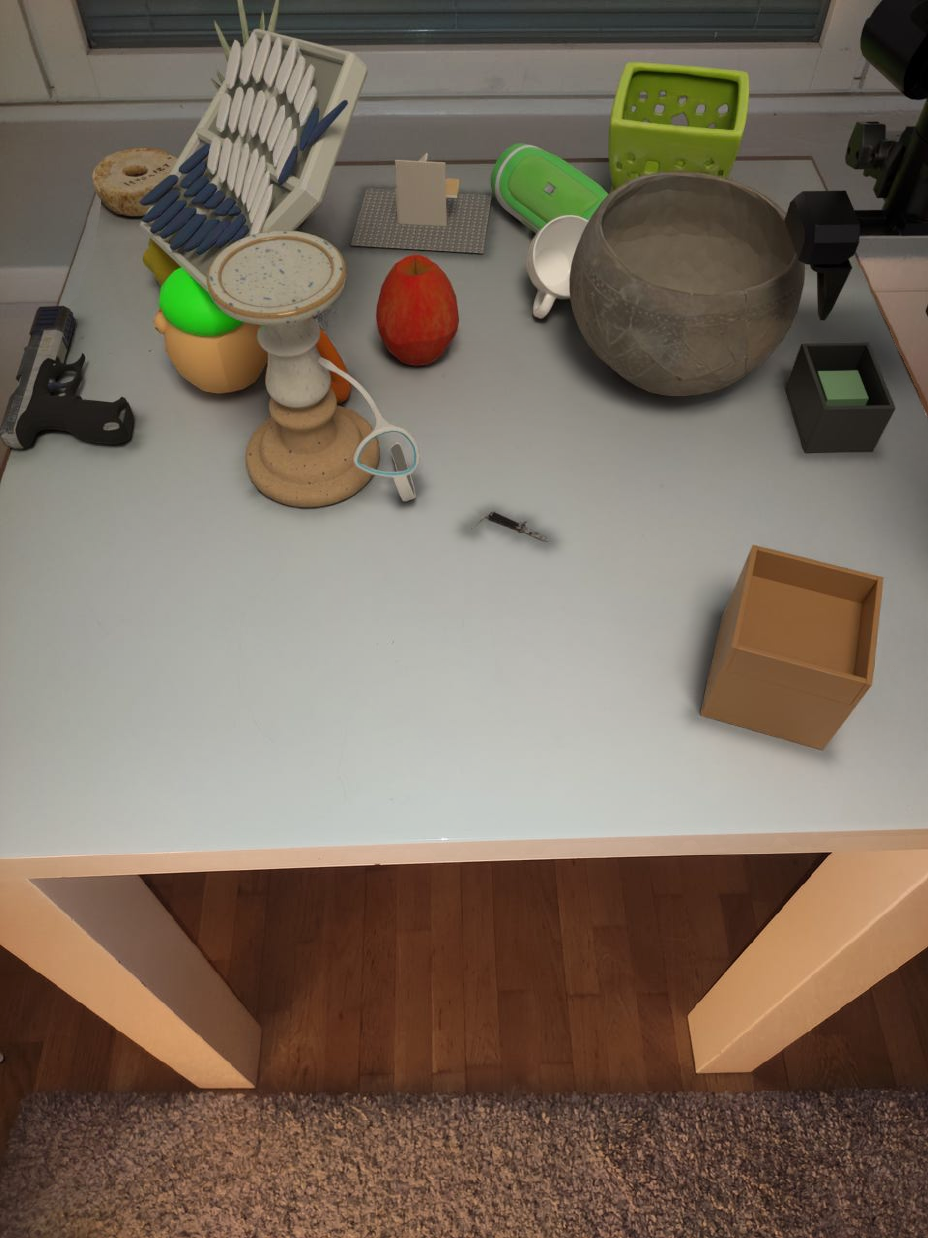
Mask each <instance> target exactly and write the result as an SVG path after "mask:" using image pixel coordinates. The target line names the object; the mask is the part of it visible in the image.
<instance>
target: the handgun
mask: <svg viewBox="0 0 928 1238" xmlns="http://www.w3.org/2000/svg"><path fill="white" fill-rule="evenodd" d="M76 320H77V319H76V318H75V317H74V312H73V311H72V310H71V309H70V308H69V307H68V306H65V305H48V306H39V307H37V309H36V311H35V314H34V318H33V320H32V324H31V326H30V330H29V340H28V343H27V346H24V348H23V351H24V352H23V354H22V357H21V360H20V363H19V367H18V370H17V374H16V376H15V380H16V381H17V382H18V384H17V387H16V388H15V390H14V391H13V392H12V394H11V395H10V396H9V398H8V401H7V404H6V407H5V411H4V415H3V417H2V421H1V423H0V440H1V441H2V443H3V445H4V446H5V447H7V448H10V449H15V450H24V449H26V448H27V447H30V446H31V444H32V443H33V442H34V439H35V436H36V435H37V434H38V433H39V432H41V431H43V430H57V431H62V432H63V431H64V432H69V433H70V434H72V435H73V436H74V437H76V438H77V439H79V440H81V441H86V442H90V443H94V444H95V443H96V444H97V443H98V444H106V445H116V444H117V445H119V444H123V443H125V442H127V441H130V439H131V437H132V431H133V426H134V420H135V415H134V412H133V410H132V407H131V405H130V402H129V401H128V400H127V399H126V397H124V396H120V397H119V399H116V400H114V401H104V400H95V399H84V398H83V397H82V396H81V395H77V391H78V389H79V387H80V385H81V383H82V381H83V373H82V371H83V368H84V364H85V361H86V355H85V354H84V353H83V352H82V353H81V355H80V357H79V359H78V360H76V361H74V362H73V363H67V364H66V363H65V359H66V356H67V352H68V349H69V346H70V342H71V338H72V334H73V333H74V328H75V325H76V324H75V323H76ZM65 372H73V373H75V375H74V377H73V379H72V380H70V381H68V382H67V381H66V382H57V381H56V379H57V378H58V377H59V376H60V375H61V374H62V373H65ZM62 389H63V390H62ZM56 390H62V391H61V392H60V393H58V394H56V395H52V393H53V392H55V391H56Z"/></svg>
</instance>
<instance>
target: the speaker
mask: <svg viewBox="0 0 928 1238" xmlns="http://www.w3.org/2000/svg"><path fill="white" fill-rule="evenodd" d="M490 188H491V191H492V194H493V195H494V197H495V199H496V200H497V202H498V204H500V206H501V207H502V209H504V210H505V211H506V212H508V213H509V214H510V215H512V216H513V217H514V218H515V219H517V220H518V221H519V222H521V223H522V224H523V225H524V226H526V228H529V229H530V230H531V231H533V232H534V233H535V234H537V232H538V231H539V230H540V229H541V228H542V227H543V226H545V225H546V224H547V223H549V222H550V221H552V220H553V219H555V218H558V217H561V216H566V215H573V216H579V217H582V218H584V219H586V220H588V221H589V219H590V218H591V216H592V215H593V213H594V212H595V211H596V209H597V208H598V206H599V205H600V204H601V202H602V201H603V200H604V199H605V198H606V197H607V196H608V195H609V194H610V193H609V192H607V191H606V190H605V189H604V188H603V187H602V185H600V184H599V183H597V182H596V181H594V180H593V179H592V178H591V177H589V176H588V175H586V174H585V173H583V172H582V171H580V170H579V169H577V168H576V167H575V166H573V165H572V164H570V163H569V162H568V161H566V160H564V159H563V158H562V157H560V156H559V155H555V154H554V153H550V152H549V151H546V150H544V149H542V148H540V147H539V146H535V145H533V144H528V143H522V142H519V143H514V144H512V145H511V146H509V147H507V148H506V149H505V150H503V152H502V153H501V154H500V155H499V156H498V158H497V160H496V162H495V163H494V165H493V168H492V171H491V175H490Z"/></svg>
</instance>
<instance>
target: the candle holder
mask: <svg viewBox="0 0 928 1238" xmlns="http://www.w3.org/2000/svg"><path fill="white" fill-rule="evenodd" d="M347 273H348V269H347V264H346V261H345V259H344V258H343V255H342V253H341V252H340V250H339V249H338V248H337V247H336V246H335V245H334V244H333V243H331V242H330V241H328V240H327V239H325V238H322V237H321V236H319V235H316V234H312V233H309V232H305V231H298V230H294V231H290V230H277V231H267V232H262V233H257V234H254V235H251V236H247V237H245V238H242V239H240V240H238V241H236V242H234V243H232V244H230V245H229V246H227V247H226V248H225V249H223V250H222V251H221V252H220V253H219V254H218V255H217V256H216V257H215V258H214V260H213V261H212V262H211V265H210V267H209V269H208V273H207V288H208V291H209V294H210V296H211V298H212V300H213V301H214V303H215V304H216V305H217V306H218V307H219V308H220V309H221V310H222V311H223V312H224V313H226V314H227V315H229V316H231V317H233V318H235V319H237V320H240V321H243V322H246V323H251V324H256V325H260V327H259V329H258V331H257V339H258V342H259V344H260V346H261V347H262V348H263V349H264V350H265V351H267V352H268V361H267V363H266V366H267V367H266V371H265V378H264V382H265V388H266V391H267V394H269V396H270V399H269V402H268V410H269V413H270V417H268V418H266V419H265V420H264V421H263V422H262V423H261V424H260V425H259V426H258V427H257V428H256V430H254V432H253V433H252V434H251V437H250V438H249V441H248V443H247V446H246V451H245V466H246V469H247V474H248V476H249V478H250V479H251V481H252V483H253V484H254V486H255V487H256V488H257V490H259V492H261V493H262V494H263V495H265V497H267V498H269V499H271V500H273V501H275V502H277V503H280V504H282V505H286V506H290V507H296V508H318V507H325V506H330V505H334V504H337V503H339V502H341V501H344V500H346V499H348V498H350V497H352V496H353V495H356V493H358V492H359V491H361V490H362V489H363V488H364V487H365V486H366V485H367V484H368V483H369V482H370V480H371V479H372V478H373V476H374V475H373V474H370V473H367V472H365V471H363V470H361V469H359V468H358V467H357V466H356V465H355V464H354V461H353V457H354V454H355V451H356V449H357V447H358V446H359V444H360V443H361V441H362V440H363V439H364V438H365V437H366V436H368V435H369V434H370V433H372V432H373V430H374V428H373V427H372V425H371V423H370V422H368V420H366V419H365V418H364V417H363V416H362V415H360V414H359V413H357V412H355V411H353V410H352V409H350V408H348V407H344V406H341V405H338V402H337V399H336V396H335V393H334V392H333V390H332V389H331V388H330V384H331V379H332V378H331V375H330V372H329V370H328V369H325V368H324V367H323V366H322V365H321V364H320V363H318V360H319V358H320V357H321V356H320V354H319V352H318V349H317V347H316V343H317V342H318V340H319V338H320V328H321V326H320V324H319V323H318V321H317V320H316V318H315V319H314V318H312V317H313V316H315V317H316V316H317V315H319V314H321V313H323V312H324V311H326V310H327V309H328V308H330V307H331V306H332V305H334V303H335V302H336V301H337V300H338V299H339V297H340V296H341V294H342V293H343V291H344V288H345V285H346V283H347ZM321 358H322V357H321ZM380 450H381V449H380V443H379V439H378V436H377V437H375V438H374V439H372V440H371V441H370V442H369V443H368V444H367V445H366V446H365V447H364V449H363V450H362V452H361V454H360V457H359V461H360V463H362V464H364V465H365V466H367V467H370V468H372V469H375V470H377V468H378V465H379V462H380Z"/></svg>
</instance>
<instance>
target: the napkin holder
mask: <svg viewBox="0 0 928 1238" xmlns="http://www.w3.org/2000/svg"><path fill="white" fill-rule="evenodd" d="M428 156H429V152H426V153H424V154H423V155H422V156H421V158H419V159H418V160H410V159H409V160H408V159H407V160H405V159H395V160H394V168H395V180H396V181H395V182H396V185H395V189H393V190H394V191H395V205H396V219H397V222H398V223H399V224H415V225H430V226H447V225H448V216H447V198H450V199H457V198H458V196H459V194H460V193H459V191H460V184H461V178H446V177H447V175H446V174H447V173H446V162H445V161H444V162H443V161H441V162H440V161H429V160H428Z"/></svg>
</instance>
